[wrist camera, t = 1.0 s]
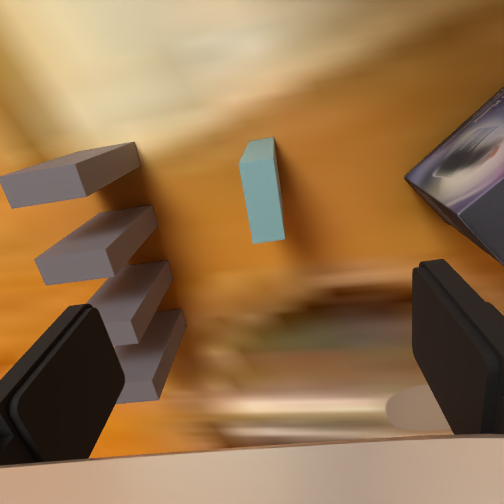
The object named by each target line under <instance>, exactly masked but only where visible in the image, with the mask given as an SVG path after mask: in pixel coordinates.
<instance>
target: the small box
mask: <svg viewBox="0 0 504 504" xmlns="http://www.w3.org/2000/svg"><path fill="white" fill-rule="evenodd" d="M404 178H405V180H406V181H407V182H408V183H409V184H410V185H411V186H412V187H413V188H414V190H415V191H416V192H417V193H418V194H419V195H420V196H421V197H422V198H423V199H424V200H425V201H426V202H427V203H428V204H429V205H430V206H431V207H432V208H433V209H434V210H435V212H436V213H437V214H438V215H439V216H440V217H441V218H442V219H443V220H444V221H445V222H446V223H448V224H449V225H452V226H453V227H454V228H456V229H457V230H458V231H459V232H461V233H462V234H463V235H465V236H466V237H467V238H469V239H470V240H471V241H472V242H474V243H475V244H476V245H477V246H479V247H480V248H481V249H482V250H484V251H485V252H486V253H488V254H490V255H491V256H492V257H493V258H494V259H496V260H497V261H498V262H500V263H501V264H502V265H503V266H504V87H503V88H502V89H501V90H500V91H499V92H498V93H496V94H495V95H494V96H493V97H492V98H491V99H490V100H489V101H488V102H486V103H485V104H484V105H483V106H482V107H481V108H480V109H479V110H478V111H476V112H475V113H474V114H473V115H472V116H471V117H470V118H469V119H468V120H466V121H465V122H464V123H463V124H462V125H461V126H460V127H459V128H458V129H456V130H455V131H454V132H453V133H452V134H451V135H450V136H449V137H448V138H446V139H445V140H444V141H443V142H442V143H441V144H440V145H439V146H438V147H436V148H435V149H434V150H433V151H432V152H431V153H430V154H429V155H428V156H426V157H425V158H424V159H423V160H422V161H421V162H420V163H419V164H418V165H416V166H415V167H414V168H413V169H412V170H411V171H410V172H409V173H408V174H406V175H405V177H404Z"/></svg>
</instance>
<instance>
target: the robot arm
mask: <svg viewBox="0 0 504 504" xmlns="http://www.w3.org/2000/svg"><path fill="white" fill-rule="evenodd" d="M412 348H413V353H414V357H415V359H416V361H417V363H418V365H419V367H420V369H421V371H422V373H423V375H424V377H425V379H426V381H427V383H428V385H429V386H430V388H431V390H432V392H433V394H434V396H435V398H436V400H437V402H438V404H439V406H440V408H441V410H442V412H443V414H444V416H445V418H446V419H447V421H448V423H449V425H450V427H451V429H452V431H453V433H454V435H427V436H411V437H395V438H376V439H360V440H345V441H330V442H314V443H299V444H284V445H268V446H254V447H240V448H225V449H211V450H197V451H183V452H169V453H155V454H142V455H129V456H116V457H103V458H90V459H88V458H89V456H90V454H91V452H92V450H93V448H94V446H95V444H96V442H97V440H98V438H99V436H100V434H101V432H102V430H103V428H104V426H105V424H106V422H107V420H108V418H109V416H110V414H111V412H112V410H113V408H114V406H115V404H116V402H117V400H118V398H119V396H120V394H121V392H122V390H123V388H124V385H125V375H124V372H123V369H122V367H121V364H120V362H119V359H118V357H117V354H116V352H115V350H114V347H113V345H112V342H111V340H110V337H109V335H108V332H107V330H106V327H105V325H104V322H103V320H102V317H101V315H100V312H99V311H98V309H97V308H95V307H94V308H93V306H92V305H91V304H81V305H73V306H69V307H68V308H67V309H66V310H65V311H64V312H63V313H62V314H61V315H60V316H59V317H58V318H57V319H56V320H55V322H54V323H53V324H52V325H51V326H50V327H49V328H48V329H47V330H46V331H45V332H44V333H43V335H42V336H41V337H40V338H39V339H38V340H37V341H36V342H35V343H34V344H33V345H32V346H31V348H30V349H29V350H28V351H27V352H26V353H25V354H24V355H23V356H22V357H21V358H20V359H19V360H18V362H17V363H16V364H15V365H14V366H13V367H12V368H11V369H10V370H9V371H8V372H7V373H6V375H5V376H4V377H3V378H2V379H1V380H0V504H504V316H503V315H502V314H501V313H500V312H499V311H498V310H497V309H496V308H495V307H494V306H493V305H492V304H490V303H488V302H485V301H484V300H483V299H482V298H481V297H480V296H479V295H478V294H477V293H476V292H475V291H474V290H473V289H472V288H471V287H470V286H469V285H468V284H467V283H466V282H465V281H464V279H463V278H462V277H461V276H460V275H459V274H458V273H457V272H456V271H455V270H454V269H453V268H452V267H451V266H450V265H449V264H448V263H447V262H446V261H445V260H444V259H439V260H431V261H423V262H420V264H419V267H417V268H414V269H413V274H412Z"/></svg>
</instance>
